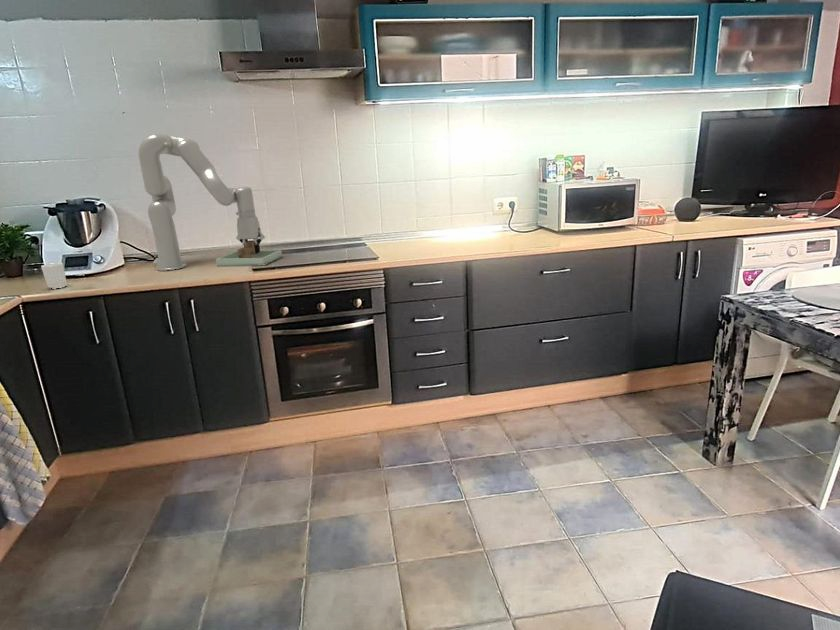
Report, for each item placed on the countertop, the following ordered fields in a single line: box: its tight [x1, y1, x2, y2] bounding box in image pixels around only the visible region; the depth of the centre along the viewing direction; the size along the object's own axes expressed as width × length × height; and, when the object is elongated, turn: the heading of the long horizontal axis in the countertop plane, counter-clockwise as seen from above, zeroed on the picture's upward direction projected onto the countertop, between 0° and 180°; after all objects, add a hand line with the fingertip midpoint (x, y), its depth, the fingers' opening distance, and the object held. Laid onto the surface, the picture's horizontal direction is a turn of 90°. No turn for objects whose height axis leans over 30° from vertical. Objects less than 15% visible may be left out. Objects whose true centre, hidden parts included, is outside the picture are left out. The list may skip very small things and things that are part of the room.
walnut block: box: [237, 247, 253, 258], centre depth 266 cm, size 4×4×6 cm
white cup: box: [40, 262, 68, 288], centre depth 240 cm, size 8×8×10 cm
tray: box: [215, 250, 283, 267], centre depth 269 cm, size 24×18×4 cm
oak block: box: [244, 239, 258, 255], centre depth 271 cm, size 4×4×6 cm
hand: (252, 252), depth 272 cm, fingers closed on oak block, 4 cm apart
